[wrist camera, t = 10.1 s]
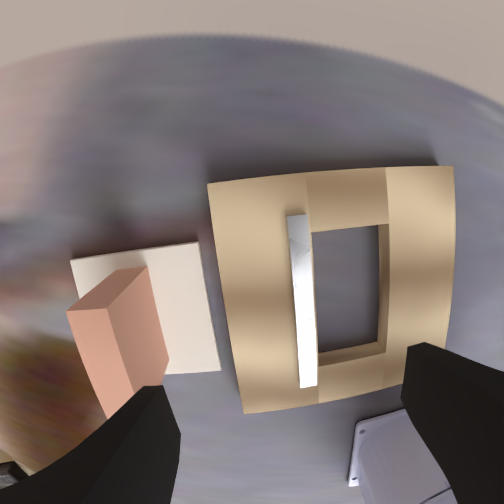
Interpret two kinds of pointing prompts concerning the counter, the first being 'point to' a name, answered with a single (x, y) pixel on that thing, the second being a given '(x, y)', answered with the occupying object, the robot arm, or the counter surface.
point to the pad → (167, 299)
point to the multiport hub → (10, 474)
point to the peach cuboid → (120, 337)
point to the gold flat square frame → (303, 284)
